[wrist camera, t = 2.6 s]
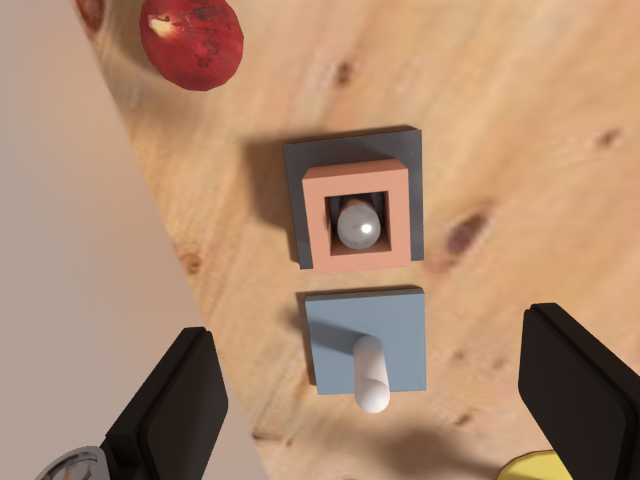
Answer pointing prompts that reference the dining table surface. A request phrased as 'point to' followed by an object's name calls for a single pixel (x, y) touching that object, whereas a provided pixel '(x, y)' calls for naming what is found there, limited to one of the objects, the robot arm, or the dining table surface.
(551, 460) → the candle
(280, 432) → the dining table surface
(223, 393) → the robot arm
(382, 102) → the dining table surface
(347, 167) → the collar
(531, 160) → the dining table surface
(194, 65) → the onion
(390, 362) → the blue peg base
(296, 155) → the stand
